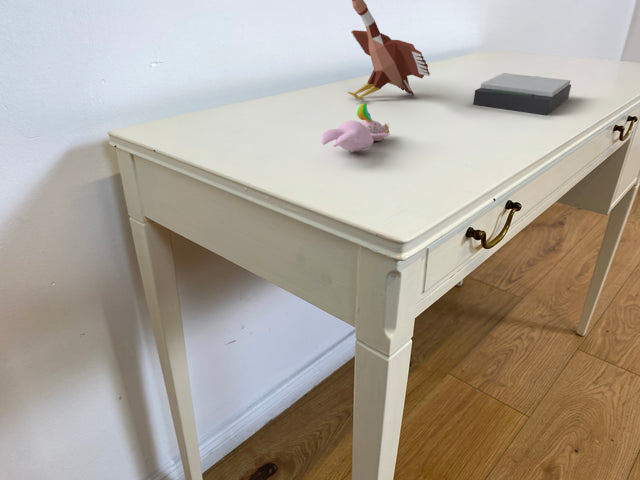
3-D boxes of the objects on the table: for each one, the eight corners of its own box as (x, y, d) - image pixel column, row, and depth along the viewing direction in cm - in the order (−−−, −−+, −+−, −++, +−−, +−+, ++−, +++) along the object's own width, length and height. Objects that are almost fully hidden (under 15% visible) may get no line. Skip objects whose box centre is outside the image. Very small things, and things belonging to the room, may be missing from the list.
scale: (546, 115, 79) (551, 94, 77) (472, 104, 85) (475, 85, 84) (568, 98, 89) (572, 79, 87) (500, 90, 95) (503, 72, 94)
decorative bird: (294, 67, 97) (322, -14, 92) (373, 98, 105) (403, 25, 100) (345, 100, 73) (387, -7, 68) (442, 136, 81) (487, 44, 76)
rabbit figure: (357, 141, 72) (304, 155, 59) (361, 98, 70) (307, 103, 57) (398, 148, 69) (351, 164, 56) (404, 103, 67) (357, 109, 54)
